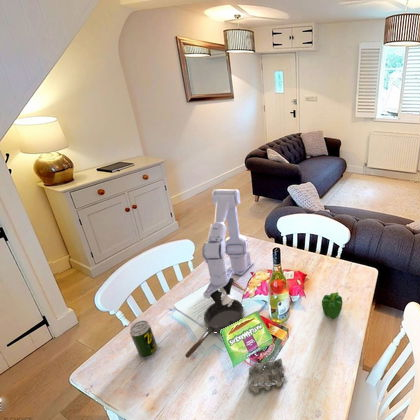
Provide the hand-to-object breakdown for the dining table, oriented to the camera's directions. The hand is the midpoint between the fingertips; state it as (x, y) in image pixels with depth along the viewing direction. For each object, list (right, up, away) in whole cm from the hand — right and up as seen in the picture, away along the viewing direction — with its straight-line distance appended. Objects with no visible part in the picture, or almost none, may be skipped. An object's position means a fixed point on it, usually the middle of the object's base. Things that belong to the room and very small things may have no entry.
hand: (222, 299), depth 103 cm
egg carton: (+21, -19, -18) cm, 34 cm away
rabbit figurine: (0, -1, +1) cm, 2 cm away
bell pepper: (+42, -8, +6) cm, 43 cm away
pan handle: (-4, -12, -10) cm, 16 cm away
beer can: (-21, -14, -12) cm, 28 cm away
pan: (0, -8, +2) cm, 8 cm away
